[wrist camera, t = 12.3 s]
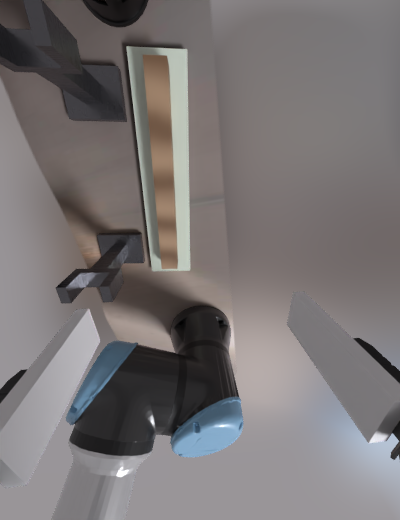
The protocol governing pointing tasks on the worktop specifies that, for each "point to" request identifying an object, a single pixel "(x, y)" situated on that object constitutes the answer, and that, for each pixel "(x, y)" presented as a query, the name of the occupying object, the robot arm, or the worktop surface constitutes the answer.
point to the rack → (79, 109)
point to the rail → (162, 154)
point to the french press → (117, 11)
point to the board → (180, 148)
